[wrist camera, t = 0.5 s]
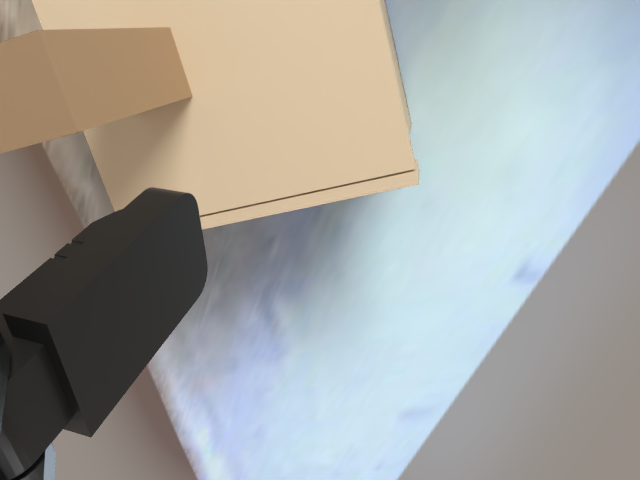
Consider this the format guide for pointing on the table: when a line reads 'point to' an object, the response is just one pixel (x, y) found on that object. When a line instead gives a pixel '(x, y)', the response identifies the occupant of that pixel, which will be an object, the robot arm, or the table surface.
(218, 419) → the table surface
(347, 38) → the lid
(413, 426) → the table surface
